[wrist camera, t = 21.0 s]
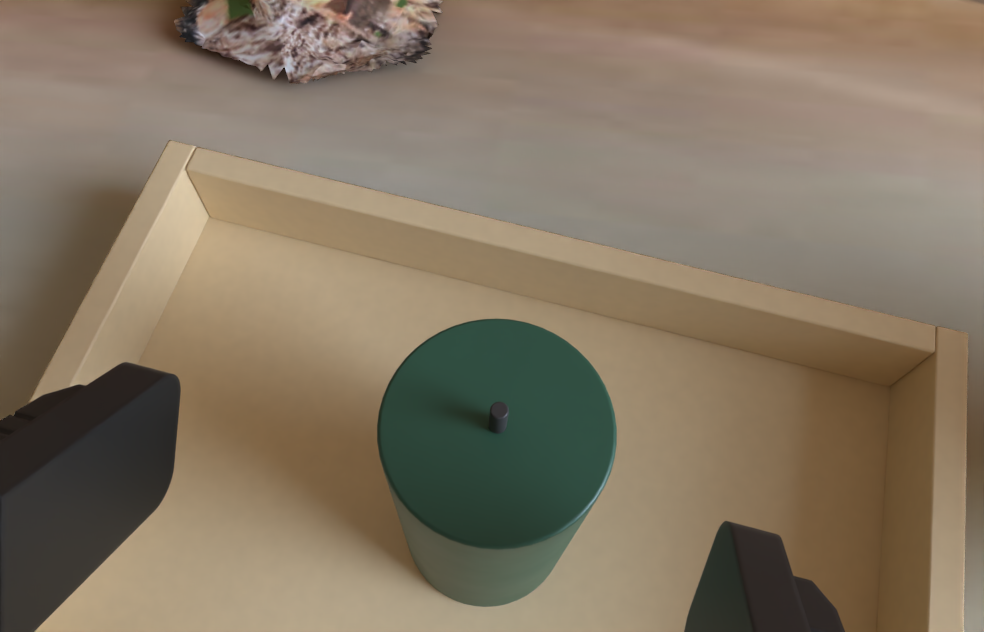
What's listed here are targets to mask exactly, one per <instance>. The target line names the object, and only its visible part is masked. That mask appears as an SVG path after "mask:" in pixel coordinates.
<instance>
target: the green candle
mask: <svg viewBox="0 0 984 632" xmlns="http://www.w3.org/2000/svg"><path fill="white" fill-rule="evenodd" d="M377 444H378V451H379V457H380V461H381V464H382V468H383V471H384V474H385V477H386V480H387V483H388V486H389V489H390V492H391V495H392V498H393V501H394V504H395V507H396V510H397V514H398V517H399V520H400V523H401V526H402V529H403V532H404V535H405V538H406V541H407V544H408V547H409V550H410V553H411V555H412V558H413V560H414V562H415V564H416V566H417V568H418V569H419V571H420V573H421V574H422V575H423V576H424V578H425V579H426V580H427V581H428V582H429V583H430V584H431V585H432V586H433V587H434V588H435V589H436V590H438V591H439V592H441V593H442V594H443V595H445V596H447V597H449V598H451V599H453V600H455V601H457V602H460V603H463V604H467V605H472V606H480V607H492V606H500V605H505V604H508V603H511V602H514V601H517V600H519V599H521V598H523V597H525V596H527V595H528V594H529V593H531V592H532V591H534V590H535V589H536V588H537V587H538V586H539V585H541V584H542V583H543V582H544V580H545V579H546V578H547V577H548V576H549V574H550V573H551V571H552V570H553V568H554V567H555V565H556V563H557V562H558V560H559V559H560V557H561V556H562V554H563V552H564V551H565V549H566V548H567V546H568V545H569V543H570V541H571V540H572V538H573V537H574V535H575V533H576V532H577V530H578V529H579V527H580V526H581V524H582V522H583V521H584V519H585V518H586V516H587V515H588V513H589V511H590V510H591V508H592V507H593V505H594V503H595V502H596V500H597V499H598V497H599V495H600V494H601V492H602V490H603V489H604V487H605V485H606V483H607V480H608V478H609V476H610V473H611V470H612V466H613V463H614V459H615V453H616V445H617V426H616V419H615V412H614V409H613V405H612V402H611V398H610V396H609V393H608V391H607V389H606V386H605V384H604V383H603V381H602V379H601V378H600V376H599V374H598V372H597V371H596V370H595V368H594V367H593V366H592V365H591V363H590V362H589V361H588V360H587V359H586V358H585V357H584V356H583V355H582V354H581V353H580V352H579V351H578V350H577V349H576V348H575V347H574V346H572V345H571V344H570V343H568V342H567V341H566V340H564V339H563V338H561V337H559V336H558V335H556V334H554V333H553V332H550V331H548V330H546V329H544V328H542V327H539V326H536V325H533V324H530V323H527V322H522V321H516V320H511V319H481V320H475V321H469V322H465V323H462V324H458V325H455V326H452V327H450V328H448V329H445V330H443V331H441V332H439V333H437V334H435V335H434V336H432V337H430V338H429V339H427V340H426V341H424V342H423V343H422V344H420V345H419V346H418V347H417V348H415V349H414V350H413V351H412V352H411V353H410V354H409V355H408V356H407V357H406V358H405V359H404V361H403V362H402V363H401V365H400V366H399V367H398V368H397V370H396V371H395V373H394V375H393V376H392V378H391V380H390V381H389V383H388V386H387V388H386V390H385V393H384V395H383V398H382V402H381V405H380V409H379V414H378V422H377Z"/></svg>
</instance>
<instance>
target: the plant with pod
mask: <svg viewBox="0 0 984 632" xmlns="http://www.w3.org/2000/svg"><path fill="white" fill-rule="evenodd" d="M186 2H188V3H189V4H191V5H192V6H193V7H181V9H182V11H183V13H184V15H185V17H182V18H179V19H176V20H174V21H175V24H176V29H177V31H179V32H180V33H182V35H181V36H180V37H183V38H186V40H185V42H194V43H195V44H196V45H201V46H202V49H205V48H208V50H210V51H216V52H219V53H220V54H221V55H222V56H223V57H230V58H232V59H233V60H241V61H243V62H245V63H246V64H248V65H254V66H257V67H258V68H259V69H260V70H261V71H262V70H263V69H264V68H265V66H266V65H267V64H268V66H269V69H270V72H271V75H272V78H273V80H274V79H275V78H276V77H277V75H278V74H279V73H280V71H281V70H282V69H283V68H284V67H285V70H286V73H287V76H288V79H289V83H300V82H302V83H305V84H306V83H307V82H308V81H309V80H310V79H311V78H312V79H313V81H314V80H315V78H316V79H317V80H319V79H320V78H321V77H322V78H325V77H327V76H329V75H337V74H338V72H340V73H342V74H343V75H344V73H345V71H350V72H355V71H360V70H366V71H369V72H372V69H380V67H381V64H383V65H386V62H385V61H387V62H390V63H392V64H395V65H397V64H398V63H399V62H401V63H403V64H405V65H406V63H405V61H409V62H414V63H417V62H416V61H415V59H423V58H422V57H421V55H426V54H431V53H428V52H425V51H427V50H430V49H432V48H430V47H427V46H424V45H431V43H430V41H429V38H430V37H431V36H432V35H433V31H434V29H435V28H436V27H437V26H438V23H437V21H436V19H435V17H434V15H433V13H432V11H435V12H441V13H443V12H442V11H441V9H440V8H439V6H438V5H440V4H441V3H442V2H443V1H441V0H186ZM404 60H405V61H404ZM386 66H387V65H386Z"/></svg>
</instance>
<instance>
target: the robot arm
mask: <svg viewBox="0 0 984 632" xmlns="http://www.w3.org/2000/svg"><path fill="white" fill-rule="evenodd" d="M180 395H181V386H180V381H179V378H178V377H177V376H176V375H175V374H172V373H168V372H164V371H160V370H156V369H153V368H149V367H145V366H141V365H137V364H134V363H130V362H123V363H121V364H119V365H117V366H116V367H114V368H113V369H111V370H109V371H108V372H106V373H105V374H103V375H102V376H100V377H99V378H97V379H95V380H94V381H92V382H91V383H89V384H88V385H86V386H85V385H81V384H78V385H75V386H71V387H68V388H65V389H61V390H58V391H54V392H51V393H48V394H44V395H42V396H40V397H38V398H37V399H35V400H34V401H32V402H30V403H29V404H27V405H25V406H24V407H22V408H20V409H19V410H17V411H15V414H14V416H12V415H9V416H7V417H6V418H4V419H2V420H1V421H0V632H34V631H35V630H36V629H37V628H38V627H39V626H40V625H41V624H42V623H43V622H44V621H45V620H46V619H47V618H48V617H49V616H50V615H51V614H52V613H53V612H54V611H55V610H56V609H57V608H58V607H59V606H60V605H61V604H62V603H63V602H64V601H65V600H66V599H67V598H68V597H69V596H70V595H71V594H72V593H73V592H74V591H75V590H76V589H77V588H78V587H79V586H80V585H81V584H82V583H83V582H84V581H85V580H86V579H87V578H88V577H89V576H90V575H91V574H92V573H93V572H94V571H95V570H96V569H97V568H98V567H99V566H100V565H101V564H102V563H103V562H104V561H105V560H106V559H107V558H108V557H109V556H110V555H111V554H112V553H113V552H114V551H115V550H116V549H117V548H118V547H119V546H120V545H121V544H122V543H123V542H124V541H125V540H126V539H127V538H128V537H129V536H130V535H131V534H132V533H133V532H134V531H135V530H136V529H137V528H138V527H139V526H140V525H141V524H142V523H143V522H144V521H145V520H146V519H147V518H148V517H149V516H150V515H151V514H152V513H153V512H154V511H155V510H156V509H157V508H158V506H159V505H160V503H161V502H162V500H163V499H164V497H165V495H166V493H167V490H168V488H169V485H170V483H171V479H172V476H173V471H174V463H175V451H176V440H177V429H178V417H179V406H180ZM684 632H845V630H844V627H843V625H842V622H841V619H840V617H839V614H838V611H837V609H836V608H835V607H834V606H833V605H832V603H831V602H830V601H829V600H828V599H827V598H826V596H825V595H824V594H823V593H822V592H821V591H820V589H819V588H818V587H817V586H816V585H815V583H814V582H813V581H812V580H808V579H804V578H800V577H797V576H793V573H792V570H791V566H790V563H789V560H788V557H787V554H786V551H785V548H784V544H783V541H782V539H781V537H780V536H779V535H778V534H775V533H771V532H767V531H763V530H760V529H756V528H752V527H748V526H744V525H741V524H737V523H733V522H729V521H724V522H723V523H722V524H721V526H720V527H719V529H718V531H717V534H716V536H715V539H714V542H713V545H712V547H711V550H710V553H709V556H708V559H707V561H706V564H705V567H704V570H703V573H702V575H701V578H700V581H699V584H698V587H697V590H696V592H695V595H694V598H693V601H692V604H691V606H690V609H689V613H688V616H687V620H686V625H685V630H684Z"/></svg>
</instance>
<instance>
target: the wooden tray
mask: <svg viewBox="0 0 984 632" xmlns="http://www.w3.org/2000/svg"><path fill="white" fill-rule="evenodd" d="M481 319H511V320H516V321H522V322H527V323H530V324H533V325H536V326H539V327H542V328H544V329H546V330H548V331H550V332H553V333H554V334H556V335H558V336H559V337H561V338H563V339H564V340H566V341H567V342H568V343H570V344H571V345H572V346H574V347H575V348H576V349H577V350H578V351H579V352H580V353H581V354H582V355H583V356H584V357H585V358H586V359H587V360H588V361H589V362H590V363H591V365H592V366H593V367H594V368H595V370H596V371H597V372H598V374H599V376H600V378H601V379H602V381H603V383H604V384H605V386H606V389H607V391H608V393H609V396H610V398H611V402H612V405H613V409H614V412H615V419H616V426H617V445H616V453H615V459H614V463H613V466H612V470H611V473H610V476H609V478H608V480H607V483H606V485H605V487H604V489H603V490H602V492H601V494H600V495H599V497H598V499H597V500H596V502H595V503H594V505H593V507H592V508H591V510H590V511H589V513H588V515H587V516H586V518H585V519H584V521H583V522H582V524H581V526H580V527H579V529H578V530H577V532H576V533H575V535H574V537H573V538H572V540H571V541H570V543H569V545H568V546H567V548H566V549H565V551H564V552H563V554H562V556H561V557H560V559H559V560H558V562H557V563H556V565H555V567H554V568H553V570H552V571H551V573H550V574H549V576H548V577H547V578H546V579H545V580H544V582H543V583H542V584H541V585H539V586H538V587H537V588H536V589H535V590H534V591H532V592H531V593H529V594H528V595H527V596H525V597H523V598H521V599H519V600H517V601H514V602H511V603H508V604H505V605H500V606H492V607H480V606H472V605H467V604H463V603H460V602H457V601H455V600H453V599H451V598H449V597H447V596H445V595H443V594H442V593H441V592H439V591H438V590H436V589H435V588H434V587H433V586H432V585H431V584H430V583H429V582H428V581H427V580H426V579H425V578H424V576H423V575H422V574H421V573H420V571H419V569H418V568H417V566H416V564H415V562H414V560H413V558H412V555H411V553H410V550H409V547H408V544H407V541H406V538H405V535H404V532H403V529H402V526H401V523H400V520H399V517H398V514H397V510H396V507H395V504H394V501H393V498H392V495H391V492H390V489H389V486H388V483H387V480H386V477H385V474H384V471H383V468H382V464H381V461H380V457H379V451H378V444H377V422H378V414H379V409H380V405H381V402H382V398H383V395H384V393H385V390H386V388H387V386H388V383H389V381H390V380H391V378H392V376H393V375H394V373H395V371H396V370H397V368H398V367H399V366H400V365H401V363H402V362H403V361H404V359H405V358H406V357H407V356H408V355H409V354H410V353H411V352H412V351H413V350H414V349H415V348H417V347H418V346H419V345H420V344H422V343H423V342H424V341H426V340H427V339H429V338H430V337H432V336H434V335H435V334H437V333H439V332H441V331H443V330H445V329H448V328H450V327H452V326H455V325H458V324H462V323H465V322H469V321H475V320H481ZM123 362H130V363H134V364H137V365H141V366H145V367H149V368H153V369H156V370H160V371H164V372H168V373H172V374H175V375H176V376H177V377H178V378H179V381H180V386H181V395H180V406H179V417H178V429H177V440H176V451H175V463H174V471H173V476H172V479H171V483H170V485H169V488H168V490H167V493H166V495H165V497H164V499H163V500H162V502H161V503H160V505H159V506H158V508H157V509H156V510H155V511H154V512H153V513H152V514H151V515H150V516H149V517H148V518H147V519H146V520H145V521H144V522H143V523H142V524H141V525H140V526H139V527H138V528H137V529H136V530H135V531H134V532H133V533H132V534H131V535H130V536H129V537H128V538H127V539H126V540H125V541H124V542H123V543H122V544H121V545H120V546H119V547H118V548H117V549H116V550H115V551H114V552H113V553H112V554H111V555H110V556H109V557H108V558H107V559H106V560H105V561H104V562H103V563H102V564H101V565H100V566H99V567H98V568H97V569H96V570H95V571H94V572H93V573H92V574H91V575H90V576H89V577H88V578H87V579H86V580H85V581H84V582H83V583H82V584H81V585H80V586H79V587H78V588H77V589H76V590H75V591H74V592H73V593H72V594H71V595H70V596H69V597H68V598H67V599H66V600H65V601H64V602H63V603H62V604H61V605H60V606H59V607H58V608H57V609H56V610H55V611H54V612H53V613H52V614H51V615H50V616H49V617H48V618H47V619H46V620H45V621H44V622H43V623H42V624H41V625H40V626H39V627H38V628H37V629H36V630H35V631H34V632H684V630H685V625H686V620H687V616H688V613H689V609H690V606H691V604H692V601H693V598H694V595H695V592H696V590H697V587H698V584H699V581H700V578H701V575H702V573H703V570H704V567H705V564H706V561H707V559H708V556H709V553H710V550H711V547H712V545H713V542H714V539H715V536H716V534H717V531H718V529H719V527H720V526H721V524H722V523H723V522H724V521H729V522H733V523H737V524H741V525H744V526H748V527H752V528H756V529H760V530H763V531H767V532H771V533H775V534H778V535H779V536H780V537H781V539H782V541H783V544H784V548H785V551H786V554H787V557H788V560H789V563H790V566H791V570H792V573H793V576H797V577H800V578H804V579H808V580H812V581H813V582H814V583H815V585H816V586H817V587H818V588H819V589H820V591H821V592H822V593H823V594H824V595H825V596H826V598H827V599H828V600H829V601H830V602H831V603H832V605H833V606H834V607H835V608H836V609H837V611H838V614H839V617H840V619H841V622H842V625H843V627H844V630H845V632H964V575H965V510H966V444H967V379H968V334H967V333H965V332H961V331H957V330H952V329H948V328H944V327H940V326H937V327H935V326H934V325H930V324H926V323H922V322H918V321H914V320H910V319H906V318H901V317H897V316H893V315H889V314H885V313H881V312H877V311H873V310H868V309H864V308H860V307H856V306H852V305H848V304H844V303H840V302H835V301H831V300H827V299H823V298H819V297H815V296H811V295H807V294H802V293H798V292H794V291H790V290H786V289H782V288H778V287H774V286H769V285H765V284H761V283H757V282H753V281H749V280H745V279H741V278H736V277H732V276H728V275H724V274H720V273H716V272H712V271H708V270H703V269H699V268H695V267H691V266H687V265H683V264H679V263H675V262H670V261H666V260H662V259H658V258H654V257H650V256H646V255H642V254H637V253H633V252H629V251H625V250H621V249H617V248H613V247H609V246H604V245H600V244H596V243H592V242H588V241H584V240H580V239H576V238H571V237H567V236H563V235H559V234H555V233H551V232H547V231H543V230H538V229H534V228H530V227H526V226H522V225H518V224H514V223H510V222H505V221H501V220H497V219H493V218H489V217H485V216H481V215H477V214H472V213H468V212H464V211H460V210H456V209H452V208H448V207H444V206H439V205H435V204H431V203H427V202H423V201H419V200H415V199H411V198H406V197H402V196H398V195H394V194H390V193H386V192H382V191H377V190H373V189H369V188H365V187H361V186H357V185H353V184H349V183H344V182H340V181H336V180H332V179H328V178H324V177H320V176H316V175H311V174H307V173H303V172H299V171H295V170H291V169H287V168H283V167H278V166H274V165H270V164H266V163H262V162H258V161H254V160H250V159H245V158H241V157H237V156H233V155H229V154H225V153H221V152H217V151H212V150H208V149H204V148H200V147H197V148H196V147H195V146H193V145H189V144H184V143H180V142H176V141H172V140H169V141H168V143H167V145H166V147H165V149H164V151H163V152H162V154H161V156H160V158H159V160H158V162H157V164H156V165H155V167H154V169H153V171H152V173H151V175H150V177H149V178H148V180H147V182H146V184H145V186H144V188H143V190H142V191H141V193H140V195H139V197H138V199H137V201H136V203H135V205H134V206H133V208H132V210H131V212H130V214H129V216H128V218H127V219H126V221H125V223H124V225H123V227H122V229H121V231H120V232H119V234H118V236H117V238H116V240H115V242H114V244H113V245H112V247H111V249H110V251H109V253H108V255H107V257H106V258H105V260H104V262H103V264H102V266H101V268H100V270H99V271H98V273H97V275H96V277H95V279H94V281H93V283H92V284H91V286H90V288H89V290H88V292H87V294H86V296H85V298H84V299H83V301H82V303H81V305H80V307H79V309H78V311H77V312H76V314H75V316H74V318H73V320H72V322H71V324H70V325H69V327H68V329H67V331H66V333H65V335H64V337H63V338H62V340H61V342H60V344H59V346H58V348H57V350H56V351H55V353H54V355H53V357H52V359H51V361H50V363H49V364H48V366H47V368H46V370H45V372H44V374H43V376H42V378H41V379H40V381H39V383H38V385H37V387H36V389H35V391H34V392H33V394H32V396H31V398H30V400H29V402H28V404H29V403H30V402H32V401H34V400H35V399H37V398H38V397H40V396H42V395H44V394H48V393H51V392H54V391H58V390H61V389H65V388H68V387H71V386H75V385H78V384H81V385H85V386H86V385H88V384H89V383H91V382H92V381H94V380H95V379H97V378H99V377H100V376H102V375H103V374H105V373H106V372H108V371H109V370H111V369H113V368H114V367H116V366H117V365H119V364H121V363H123Z"/></svg>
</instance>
